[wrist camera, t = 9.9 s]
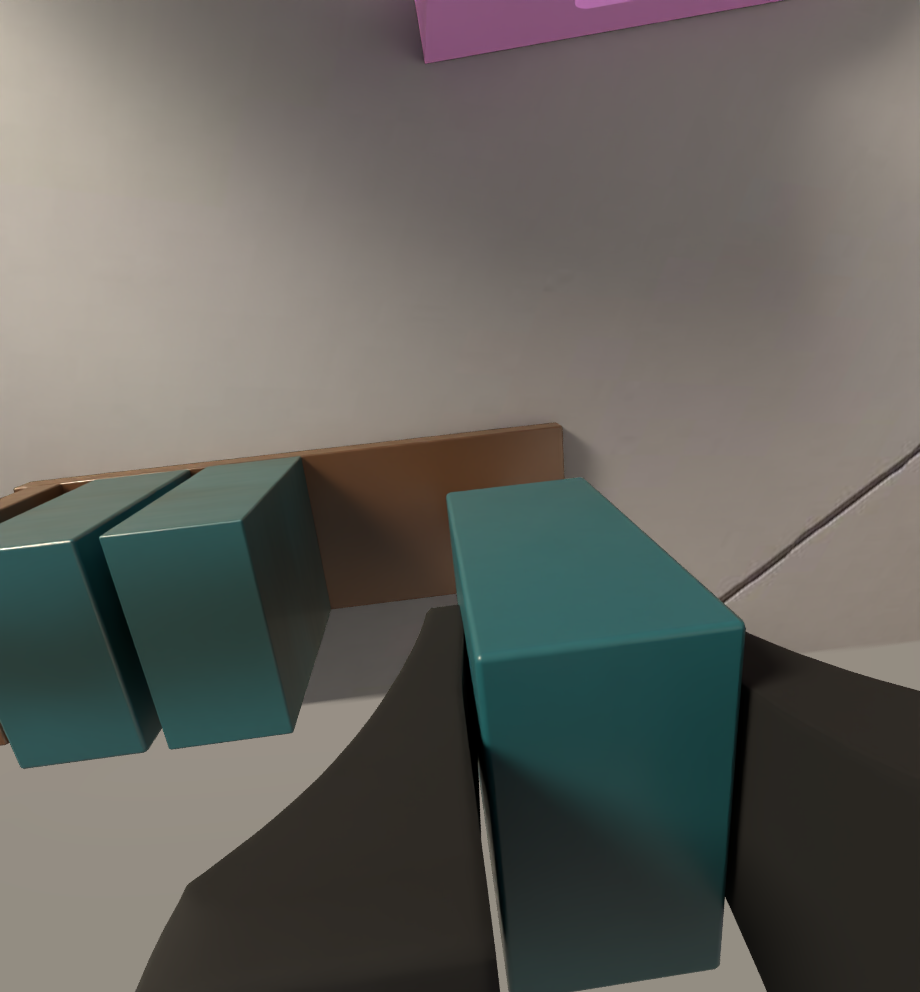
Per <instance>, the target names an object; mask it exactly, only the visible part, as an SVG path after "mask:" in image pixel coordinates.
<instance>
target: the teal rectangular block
mask: <svg viewBox="0 0 920 992" xmlns="http://www.w3.org/2000/svg"><path fill="white" fill-rule="evenodd" d="M446 502H447V511H448V520H449V529H450V538H451V546H452V555H453V564H454V573H455V582H456V591H457V600H458V605H460V610H461V616H462V621H463V627H464V635H465V644H466V653H467V662H468V671H469V680H470V689H471V699H472V708H473V717H474V726H475V735H476V744H477V753H478V771H479V779H480V787H481V794H482V802H483V809H484V816H485V823H486V830H487V838H488V845H489V852H490V860H491V867H492V874H493V882H494V888H495V896H496V903H497V910H498V918H499V925H500V932H501V939H502V947H503V953H504V961H505V969H506V976H507V983H508V990H509V992H574V991H581V990H586V989H593V988H599V987H606V986H612V985H618V984H624V983H631V982H637V981H643V980H649V979H656V978H662V977H668V976H674V975H680V974H687V973H693V972H699V971H706V970H712V969H715V968H717V967H718V966H719V965H720V951H721V940H722V927H723V914H724V900H725V888H726V875H727V863H728V850H729V837H730V824H731V811H732V799H733V786H734V773H735V760H736V747H737V734H738V722H739V709H740V696H741V683H742V670H743V657H744V645H745V632H746V628H745V625H744V622H743V620H742V619H741V618H740V617H738V616H737V615H736V614H735V613H734V612H733V611H732V610H731V609H730V608H728V607H727V606H726V605H725V604H724V603H723V602H722V601H721V600H719V599H718V598H717V597H716V596H715V595H714V594H713V593H712V592H710V591H709V590H708V589H707V588H706V587H705V586H704V585H703V584H702V583H700V582H699V581H698V580H697V579H696V578H695V577H694V576H693V575H691V574H690V573H689V572H688V571H687V570H686V569H685V568H684V567H682V566H681V565H680V564H679V563H678V562H677V561H676V560H675V559H674V558H672V557H671V556H670V555H669V554H668V553H667V552H666V551H665V550H663V549H662V548H661V547H660V546H659V545H658V544H657V543H656V542H654V541H653V540H652V539H651V538H650V537H649V536H648V535H647V534H646V533H644V532H643V531H642V530H641V529H640V528H639V527H638V526H637V525H635V524H634V523H633V522H632V521H631V520H630V519H629V518H628V517H627V516H625V515H624V514H623V513H622V512H621V511H620V510H619V509H618V508H616V507H615V506H614V505H613V504H612V503H611V502H610V501H609V500H607V499H606V498H605V497H604V496H603V495H602V494H601V493H600V492H599V491H597V490H596V489H595V488H594V487H593V486H592V485H591V484H590V483H588V482H587V481H586V480H585V479H584V478H581V477H578V478H570V479H561V480H553V481H544V482H536V483H527V484H519V485H510V486H502V487H493V488H484V489H476V490H467V491H459V492H450V493H448V494H447V496H446Z"/></svg>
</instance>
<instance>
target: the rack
mask: <svg viewBox="0 0 920 992" xmlns="http://www.w3.org/2000/svg"><path fill="white" fill-rule="evenodd" d="M561 479H565V477H564V453H563V428H562V426H561V425H559V424H558V423H556V422H554V423H545V424H537V425H528V426H519V427H510V428H501V429H492V430H484V431H475V432H466V433H457V434H448V435H440V436H431V437H422V438H413V439H404V440H395V441H387V442H378V443H369V444H360V445H351V446H342V447H334V448H325V449H316V450H307V451H298V452H289V453H281V454H272V455H263V456H254V457H245V458H236V459H228V460H219V461H210V462H201V463H192V464H183V465H175V466H166V467H157V468H148V469H139V470H131V471H122V472H113V473H104V474H95V475H86V476H78V477H69V478H60V479H51V480H42V481H33V482H29V483H26V484H24V485H21V486H18V487H16V488H14V493H13V494H10V495H8V496H5V497H3V498H0V745H6V744H8V743H10V745H11V747H12V749H13V752H14V754H15V756H16V758H17V760H18V763H19V765H20V767H21V768H23V769H26V768H33V767H41V766H48V765H55V764H63V763H70V762H78V761H85V760H92V759H99V758H107V757H114V756H121V755H129V754H136V753H144V752H146V751H147V750H148V749H149V748H150V746H151V744H152V743H153V741H154V740H155V738H156V737H157V735H158V734H159V732H160V731H161V729H162V728H163V732H164V735H165V737H166V741H167V743H168V747H169V749H179V748H186V747H192V746H201V745H208V744H215V743H223V742H230V741H237V740H244V739H252V738H260V737H267V736H274V735H282V734H289V733H292V732H293V731H294V728H295V725H296V721H297V718H298V715H299V711H300V708H301V705H302V702H303V699H304V696H305V692H306V689H307V686H308V683H309V679H310V676H311V673H312V670H313V667H314V663H315V660H316V657H317V654H318V650H319V647H320V644H321V641H322V637H323V634H324V631H325V628H326V625H327V621H328V618H329V615H330V612H331V609H338V608H345V607H353V606H361V605H369V604H377V603H385V602H393V601H401V600H409V599H417V598H425V597H433V596H440V595H448V594H456V593H457V591H456V582H455V573H454V564H453V555H452V546H451V538H450V529H449V520H448V511H447V502H446V496H447V494H448V493H450V492H459V491H467V490H476V489H484V488H493V487H502V486H510V485H519V484H527V483H536V482H544V481H553V480H561Z"/></svg>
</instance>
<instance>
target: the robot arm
mask: <svg viewBox="0 0 920 992" xmlns="http://www.w3.org/2000/svg"><path fill="white" fill-rule="evenodd" d="M725 897H726V900H727V902H728V904H729V906H730V908H731V910H732V913H733V915H734V917H735V919H736V922H737V924H738V926H739V929H740V931H741V933H742V936H743V938H744V940H745V942H746V945H747V947H748V949H749V951H750V954H751V956H752V958H753V960H754V963H755V965H756V967H757V970H758V972H759V974H760V976H761V979H762V981H763V983H764V986H765V988H766V990H767V992H920V691H917V690H914V689H910V688H907V687H903V686H900V685H896V684H892V683H889V682H885V681H881V680H878V679H874V678H871V677H868V676H864V675H861V674H858V673H854V672H851V671H848V670H845V669H842V668H839V667H836V666H833V665H830V664H827V663H824V662H822V661H819V660H816V659H813V658H810V657H807V656H804V655H801V654H799V653H796V652H793V651H791V650H788V649H786V648H783V647H780V646H778V645H776V644H773V643H771V642H768V641H766V640H764V639H761V638H759V637H756V636H754V635H752V634H749V633H747V632H745V645H744V657H743V670H742V683H741V696H740V709H739V722H738V734H737V747H736V760H735V773H734V786H733V799H732V811H731V824H730V837H729V850H728V863H727V875H726V888H725ZM135 992H500V988H499V978H498V970H497V961H496V952H495V944H494V936H493V928H492V920H491V912H490V904H489V897H488V888H487V881H486V874H485V866H484V858H483V852H482V843H481V824H480V798H479V771H478V753H477V744H476V735H475V726H474V717H473V708H472V699H471V689H470V680H469V671H468V662H467V653H466V644H465V635H464V627H463V621H462V616H461V610H460V605H453V606H445V607H437V608H431V609H430V610H429V611H428V613H427V614H426V617H425V620H424V623H423V626H422V629H421V631H420V634H419V636H418V638H417V640H416V643H415V645H414V647H413V649H412V651H411V653H410V655H409V656H408V658H407V660H406V662H405V664H404V666H403V668H402V670H401V671H400V673H399V675H398V676H397V678H396V680H395V681H394V683H393V685H392V686H391V688H390V689H389V691H388V693H387V694H386V696H385V697H384V699H383V700H382V702H381V703H380V705H379V706H378V708H377V709H376V711H375V712H374V713H373V715H372V716H371V718H370V719H369V720H368V722H367V723H366V724H365V725H364V727H363V728H362V729H361V730H360V732H359V733H358V734H357V735H356V737H355V738H354V739H353V740H352V741H351V743H350V744H349V745H348V746H347V747H346V748H345V749H344V751H343V752H342V753H341V754H340V755H339V756H338V757H337V759H336V760H335V761H334V762H333V763H332V764H331V765H330V766H329V767H328V768H327V769H326V771H325V772H324V773H323V774H322V775H321V776H320V777H319V778H318V779H317V780H316V781H315V782H314V783H312V785H310V786H309V787H308V788H307V789H306V790H305V791H304V792H303V793H302V794H301V795H300V796H299V797H298V798H297V799H295V800H294V801H293V802H292V803H291V804H290V805H289V806H288V807H286V808H285V809H284V810H283V811H282V812H281V813H279V814H278V815H277V816H276V817H275V818H274V819H273V820H271V821H270V822H269V823H268V824H267V825H265V826H264V827H263V828H262V829H260V831H258V832H257V833H256V834H255V835H253V836H252V837H250V838H249V839H248V840H246V841H245V842H244V843H242V844H241V845H240V846H239V847H237V848H236V849H235V850H233V851H232V852H231V853H229V854H228V855H227V856H225V857H224V858H223V859H222V860H220V861H219V862H218V863H216V864H215V865H214V866H212V867H211V868H210V869H208V870H207V871H206V872H204V873H203V874H202V875H200V876H199V877H197V878H196V879H195V880H193V881H192V882H191V883H189V884H188V885H187V886H186V888H185V890H184V893H183V895H182V897H181V899H180V901H179V903H178V905H177V906H176V908H175V910H174V912H173V914H172V915H171V917H170V919H169V921H168V923H167V924H166V926H165V928H164V930H163V932H162V934H161V936H160V938H159V940H158V942H157V944H156V946H155V948H154V950H153V952H152V955H151V957H150V959H149V961H148V963H147V966H146V968H145V970H144V973H143V975H142V977H141V980H140V982H139V985H138V987H137V989H136V991H135Z"/></svg>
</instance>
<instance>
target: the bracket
mask: <svg viewBox="0 0 920 992" xmlns="http://www.w3.org/2000/svg"><path fill="white" fill-rule="evenodd" d="M776 1H782V0H415V6H416V12H417V18H418V24H419V30H420V36H421V42H422V48H423V54H424V61H425V64H427V63H433V62H438V61H444V60H449V59H455V58H461V57H466V56H472V55H478V54H483V53H489V52H494V51H500V50H506V49H511V48H517V47H523V46H528V45H534V44H539V43H545V42H551V41H556V40H562V39H568V38H573V37H579V36H585V35H590V34H596V33H601V32H607V31H613V30H618V29H624V28H630V27H635V26H641V25H646V24H652V23H658V22H663V21H669V20H675V19H680V18H686V17H691V16H697V15H703V14H708V13H714V12H720V11H725V10H731V9H736V8H742V7H748V6H753V5H759V4H765V3H770V2H776Z"/></svg>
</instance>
